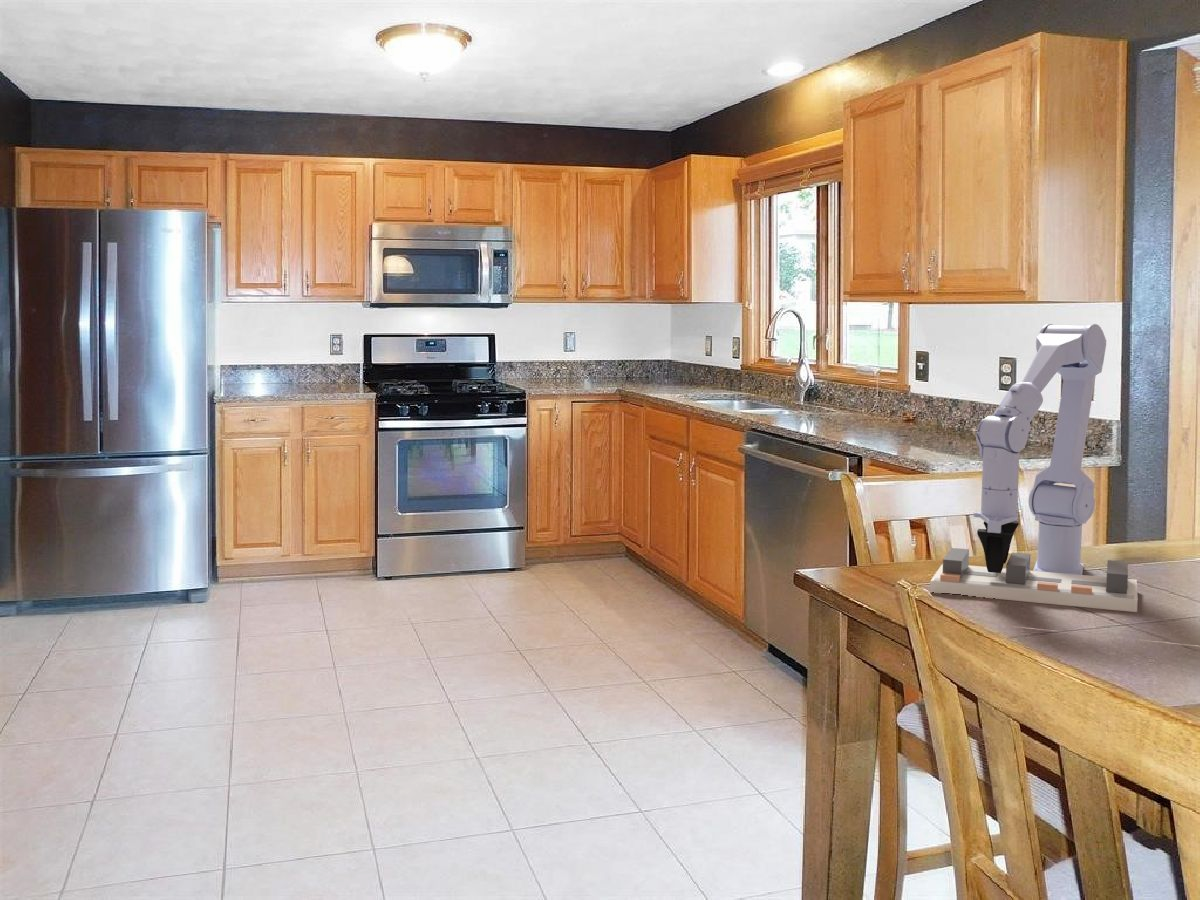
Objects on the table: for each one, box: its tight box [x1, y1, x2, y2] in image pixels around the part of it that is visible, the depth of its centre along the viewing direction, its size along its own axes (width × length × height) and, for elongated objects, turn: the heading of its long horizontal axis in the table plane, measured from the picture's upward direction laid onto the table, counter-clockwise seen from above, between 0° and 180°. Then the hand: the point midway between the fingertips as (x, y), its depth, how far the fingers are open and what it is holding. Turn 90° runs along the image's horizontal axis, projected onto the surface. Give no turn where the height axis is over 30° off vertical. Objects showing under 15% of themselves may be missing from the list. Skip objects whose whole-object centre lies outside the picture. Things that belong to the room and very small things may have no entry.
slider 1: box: [942, 547, 970, 579], centre depth 190 cm, size 10×3×3 cm, turn 155°
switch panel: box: [929, 563, 1139, 613], centre depth 184 cm, size 14×31×3 cm, turn 65°
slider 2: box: [1106, 559, 1129, 593], centre depth 179 cm, size 10×3×3 cm, turn 155°
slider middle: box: [1005, 552, 1031, 584], centre depth 186 cm, size 10×3×3 cm, turn 155°
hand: (997, 567), depth 187 cm, fingers open, 7 cm apart
